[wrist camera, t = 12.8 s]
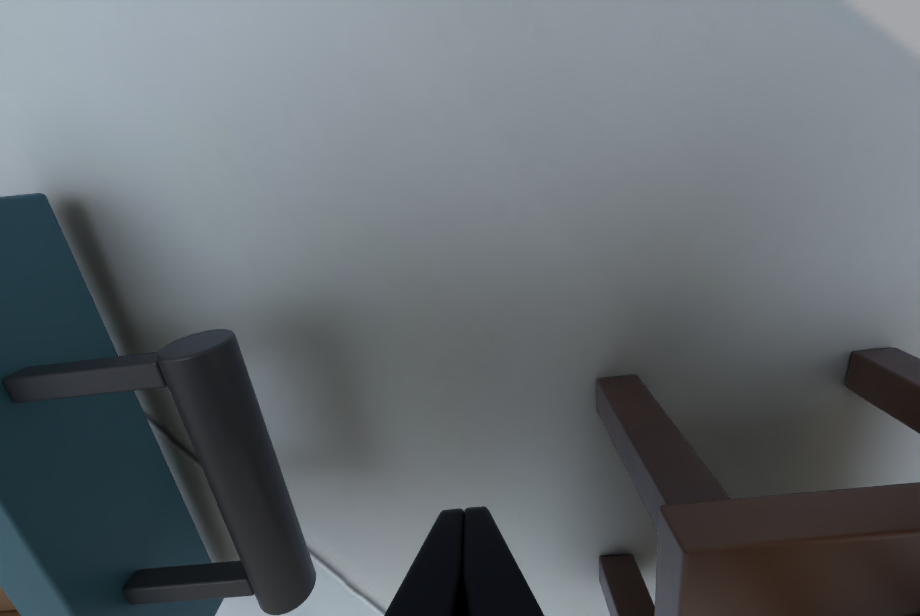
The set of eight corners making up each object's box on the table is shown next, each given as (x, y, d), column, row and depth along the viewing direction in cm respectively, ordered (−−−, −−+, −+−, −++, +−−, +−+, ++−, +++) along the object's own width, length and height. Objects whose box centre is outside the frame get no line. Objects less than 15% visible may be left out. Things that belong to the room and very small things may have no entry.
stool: (908, 335, 12) (1304, 501, 6) (848, 566, 15) (1075, 815, 9) (585, 369, 12) (684, 552, 7) (590, 587, 16) (662, 835, 10)
